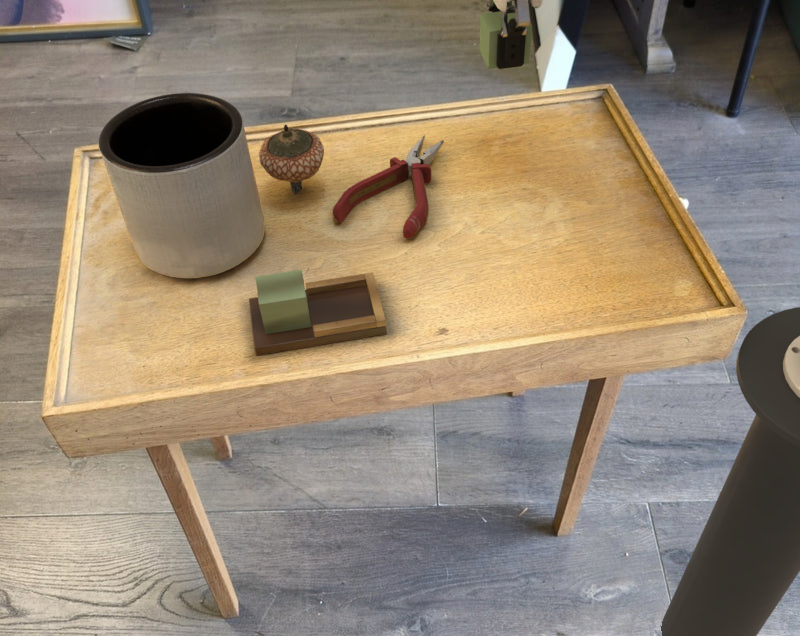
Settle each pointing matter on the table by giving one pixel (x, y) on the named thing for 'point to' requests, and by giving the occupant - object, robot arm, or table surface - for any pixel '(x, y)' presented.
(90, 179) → the table surface
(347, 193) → the pliers
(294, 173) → the acorn
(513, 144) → the table surface
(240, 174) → the planter
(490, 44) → the block
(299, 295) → the brown wooden rectangular tray
